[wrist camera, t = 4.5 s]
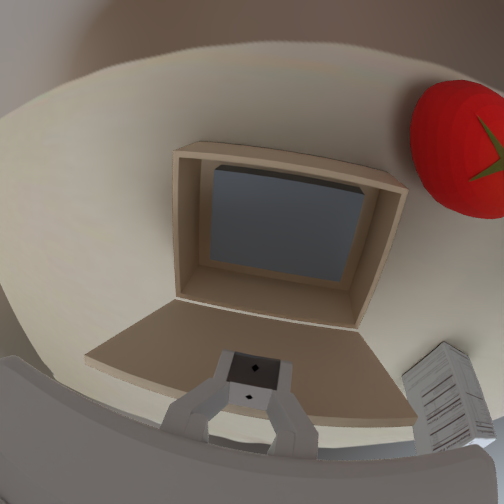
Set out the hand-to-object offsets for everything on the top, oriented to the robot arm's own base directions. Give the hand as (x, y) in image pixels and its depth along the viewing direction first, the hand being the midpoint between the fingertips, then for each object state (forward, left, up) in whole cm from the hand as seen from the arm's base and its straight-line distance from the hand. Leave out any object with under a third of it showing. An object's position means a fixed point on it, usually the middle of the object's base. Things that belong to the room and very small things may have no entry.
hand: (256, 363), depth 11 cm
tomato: (-15, -11, -18) cm, 26 cm away
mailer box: (0, +1, -18) cm, 18 cm away
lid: (0, +5, -5) cm, 7 cm away
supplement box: (-29, +20, -18) cm, 40 cm away
